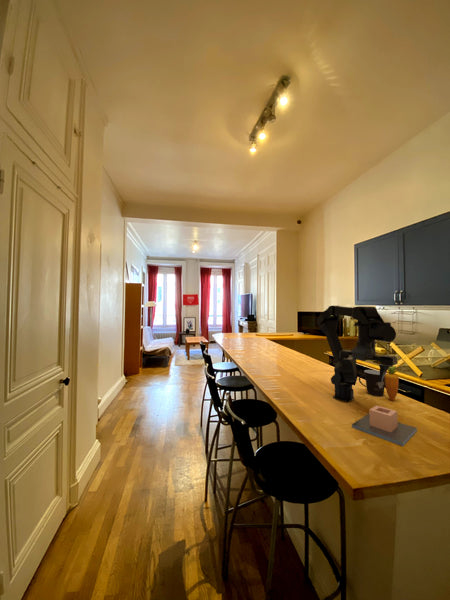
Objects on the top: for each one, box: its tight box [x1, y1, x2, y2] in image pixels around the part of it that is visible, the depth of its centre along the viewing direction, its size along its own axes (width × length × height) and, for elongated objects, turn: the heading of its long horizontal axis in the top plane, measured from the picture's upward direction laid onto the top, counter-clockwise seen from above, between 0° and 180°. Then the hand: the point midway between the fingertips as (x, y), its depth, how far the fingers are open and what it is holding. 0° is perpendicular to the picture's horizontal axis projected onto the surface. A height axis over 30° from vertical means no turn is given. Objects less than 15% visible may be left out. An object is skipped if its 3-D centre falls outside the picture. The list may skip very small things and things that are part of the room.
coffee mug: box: [358, 369, 386, 398], centre depth 113 cm, size 12×9×10 cm
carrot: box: [385, 365, 399, 402], centre depth 104 cm, size 5×5×15 cm
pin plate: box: [351, 412, 418, 447], centre depth 79 cm, size 14×14×6 cm
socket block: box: [368, 404, 398, 432], centre depth 79 cm, size 6×6×5 cm
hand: (367, 379), depth 93 cm, fingers open, 9 cm apart
